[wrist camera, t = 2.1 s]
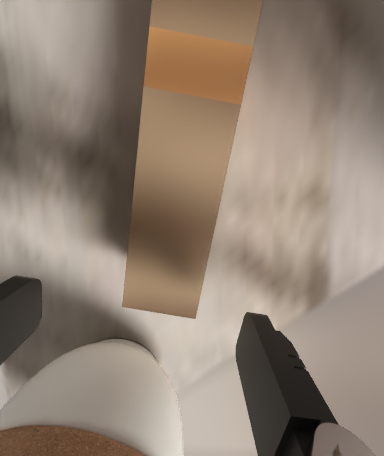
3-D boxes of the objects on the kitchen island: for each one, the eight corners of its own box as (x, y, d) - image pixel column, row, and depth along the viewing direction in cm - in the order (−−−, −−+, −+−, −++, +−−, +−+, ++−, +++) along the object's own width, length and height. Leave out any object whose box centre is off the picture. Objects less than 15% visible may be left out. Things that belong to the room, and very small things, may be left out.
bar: (182, -36, 11) (170, -193, 6) (255, -21, 11) (298, -165, 6) (144, 265, 16) (122, 306, 11) (195, 274, 16) (195, 318, 11)
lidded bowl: (108, 435, 21) (18, 701, 11) (22, 349, 18) (-214, 591, 8) (215, 390, 19) (237, 662, 9) (137, 286, 16) (28, 497, 6)
